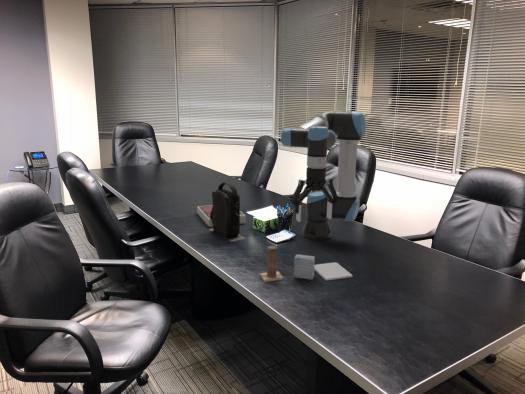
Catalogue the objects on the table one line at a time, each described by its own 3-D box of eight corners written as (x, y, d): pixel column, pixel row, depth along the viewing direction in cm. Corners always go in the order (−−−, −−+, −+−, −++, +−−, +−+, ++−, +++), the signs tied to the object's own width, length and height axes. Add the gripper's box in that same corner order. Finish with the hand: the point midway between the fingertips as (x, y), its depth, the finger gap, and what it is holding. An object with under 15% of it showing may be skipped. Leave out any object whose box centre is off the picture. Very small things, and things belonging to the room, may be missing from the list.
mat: (311, 267, 179) (311, 265, 179) (336, 263, 183) (336, 262, 182) (325, 280, 166) (326, 278, 166) (352, 277, 170) (352, 275, 169)
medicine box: (314, 275, 170) (315, 256, 168) (312, 280, 166) (313, 260, 164) (295, 273, 173) (296, 253, 170) (293, 277, 168) (294, 257, 166)
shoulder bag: (246, 238, 213) (246, 185, 206) (231, 241, 208) (231, 187, 201) (223, 227, 231) (222, 177, 224) (208, 230, 225) (207, 179, 218)
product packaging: (230, 211, 263) (230, 203, 262) (245, 223, 238) (245, 215, 237) (197, 214, 256) (197, 206, 254) (208, 227, 230) (208, 219, 229)
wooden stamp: (259, 275, 170) (260, 246, 167) (278, 273, 172) (278, 244, 169) (264, 282, 164) (265, 251, 161) (283, 279, 167) (284, 249, 164)
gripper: (290, 169, 152) (288, 225, 157) (349, 167, 161) (346, 219, 166) (282, 166, 159) (281, 219, 164) (339, 164, 168) (336, 214, 173)
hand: (313, 219), depth 165 cm, fingers open, 13 cm apart
